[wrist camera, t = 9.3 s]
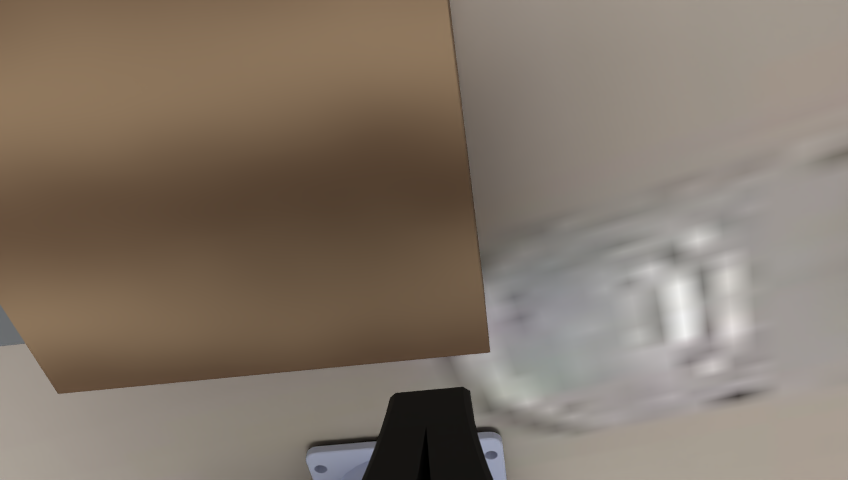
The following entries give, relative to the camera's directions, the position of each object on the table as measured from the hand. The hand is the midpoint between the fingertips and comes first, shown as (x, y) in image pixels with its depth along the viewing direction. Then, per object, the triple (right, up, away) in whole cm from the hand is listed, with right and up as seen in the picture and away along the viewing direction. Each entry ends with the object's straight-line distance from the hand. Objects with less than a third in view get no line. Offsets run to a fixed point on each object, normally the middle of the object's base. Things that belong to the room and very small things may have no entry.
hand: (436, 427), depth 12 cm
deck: (-6, +6, +8) cm, 12 cm away
